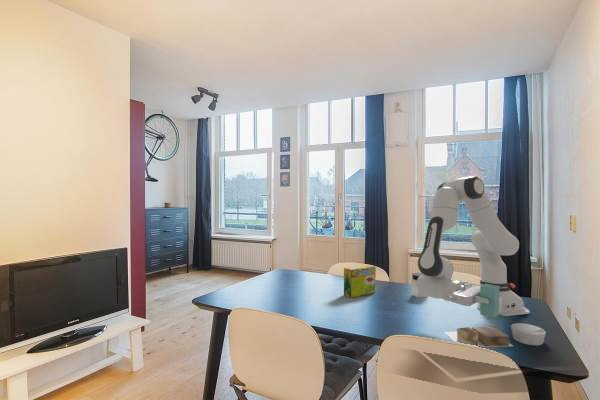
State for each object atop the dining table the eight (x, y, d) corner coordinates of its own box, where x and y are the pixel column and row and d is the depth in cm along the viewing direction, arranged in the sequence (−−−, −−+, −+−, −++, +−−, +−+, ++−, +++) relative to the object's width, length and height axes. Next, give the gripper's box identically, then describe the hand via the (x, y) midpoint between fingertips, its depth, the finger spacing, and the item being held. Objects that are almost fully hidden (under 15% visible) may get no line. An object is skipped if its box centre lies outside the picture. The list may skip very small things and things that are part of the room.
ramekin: (543, 351, 123) (543, 337, 123) (508, 342, 131) (508, 329, 131) (547, 341, 132) (547, 328, 132) (513, 333, 139) (513, 320, 139)
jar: (413, 297, 188) (413, 276, 187) (409, 293, 196) (409, 272, 196) (430, 297, 187) (430, 276, 187) (425, 293, 195) (425, 272, 195)
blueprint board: (491, 332, 140) (491, 330, 140) (513, 348, 126) (513, 346, 126) (443, 333, 139) (443, 331, 139) (461, 349, 125) (461, 347, 125)
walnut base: (494, 335, 135) (494, 326, 135) (509, 345, 126) (509, 336, 126) (472, 336, 135) (472, 327, 135) (485, 346, 126) (485, 336, 126)
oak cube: (468, 340, 131) (468, 327, 131) (477, 345, 126) (477, 332, 126) (457, 341, 130) (457, 328, 130) (466, 347, 125) (466, 333, 125)
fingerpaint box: (367, 290, 203) (367, 263, 203) (375, 292, 197) (375, 265, 197) (342, 295, 193) (342, 267, 193) (350, 298, 187) (350, 269, 187)
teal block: (485, 311, 134) (485, 283, 134) (499, 314, 130) (499, 286, 130) (480, 314, 131) (480, 285, 131) (494, 317, 127) (494, 288, 127)
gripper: (444, 289, 133) (482, 296, 123) (465, 279, 147) (501, 286, 137) (444, 305, 133) (482, 314, 123) (465, 294, 147) (501, 301, 137)
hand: (492, 299), depth 130 cm, fingers closed on teal block, 5 cm apart
